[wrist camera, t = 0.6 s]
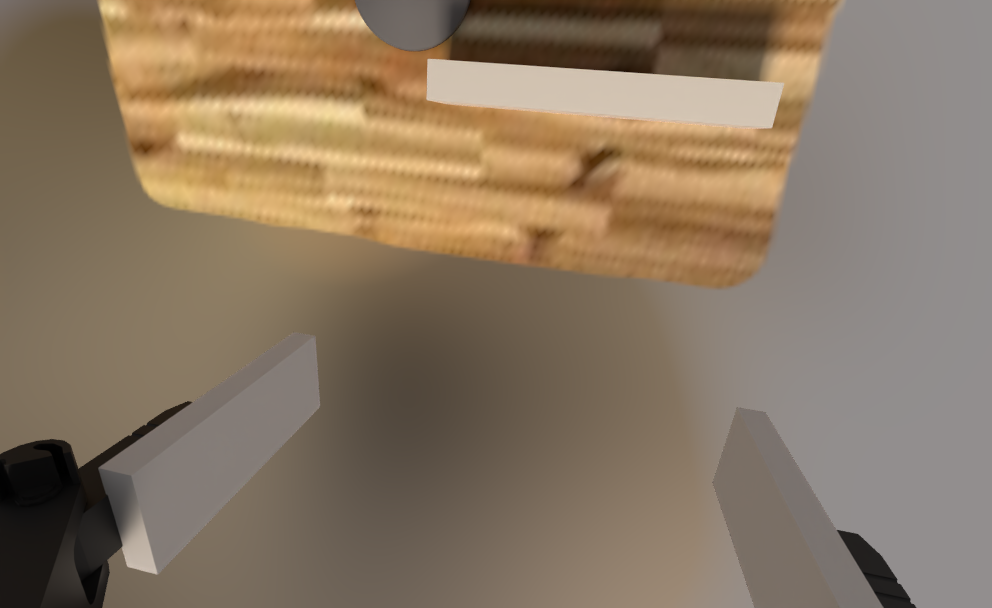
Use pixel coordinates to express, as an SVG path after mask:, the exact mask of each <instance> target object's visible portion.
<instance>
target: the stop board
mask: <svg viewBox="0 0 992 608" xmlns="http://www.w3.org/2000/svg"><path fill="white" fill-rule="evenodd" d="M783 86H784V83H777V82H762V81H748V80H733V79H718V78H703V77H689V76H674V75H659V74H645V73H630V72H615V71H600V70H586V69H571V68H556V67H541V66H527V65H512V64H497V63H483V62H468V61H453V60H438V59H428V69H427V100H429V101H434V102H439V103H444V104H451V105H463V106H475V107H487V108H499V109H511V110H524V111H536V112H548V113H560V114H572V115H584V116H596V117H608V118H621V119H633V120H645V121H657V122H669V123H681V124H693V125H705V126H718V127H730V128H742V129H759V128H772V126H773V122H774V118H775V115H776V111H777V108H778V104H779V100H780V97H781V93H782V89H783Z"/></svg>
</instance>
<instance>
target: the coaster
mask: <svg viewBox="0 0 992 608" xmlns="http://www.w3.org/2000/svg"><path fill="white" fill-rule="evenodd" d="M355 2H356V5H357V8H358V10H359V13H360V14H361V16H362V18H363V20H364V22H365V23H366V24H367V26H368V27H369V28H370V30H371V31H372V32H373V33H374V34H375V35H376V36H378V37H379V38H380V39H381V40H383V41H384V42H386V43H387V44H389V45H392V46H394V47H396V48H399V49H402V50H406V51H423V50H428V49H431V48H434V47H436V46H438V45H440V44H441V43H443V42H444V41H446V40H447V39H448V38H449V37H450V36H451V35H452V34H453V33H454V32H455V31H456V30H457V28H458V27H459V25H460V24H461V22H462V21H463V19H464V17H465V15H466V13H467V10H468V7H469V4H470V0H355Z"/></svg>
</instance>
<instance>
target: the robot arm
mask: <svg viewBox="0 0 992 608" xmlns="http://www.w3.org/2000/svg"><path fill="white" fill-rule="evenodd" d="M319 407H320V399H319V386H318V370H317V357H316V342H315V336H313V335H307V334H301V333H295V332H293V333H292V334H290V335H289V336H288V337H286V338H285V339H284V340H282V341H280V342H279V343H277V344H276V345H275V346H273V347H272V348H270V349H269V350H267V351H266V352H264V353H263V354H262V355H260V356H259V357H257V358H256V359H254V360H253V361H252V362H250V363H249V364H247V365H246V366H244V367H243V368H241V369H240V370H239V371H237V372H236V373H234V374H233V375H231V376H230V377H228V378H227V379H226V380H224V381H223V382H221V383H220V384H218V385H217V386H216V387H214V388H213V389H211V390H210V391H209V392H207V393H206V394H204V395H203V396H201V397H200V398H198V399H197V400H195V401H194V402H189V401H187V402H185V403H183V404H180V405H178V406H175V407H173V408H171V409H168V410H166V411H164V412H163V413H161V414H160V415H158V416H157V417H155V418H154V419H152V420H151V421H149V422H148V423H147V425H146V426H145V425H143V426H142V427H140V428H139V429H137V430H136V431H134V432H133V433H132V435H131V436H127V437H125V438H124V439H122V440H121V441H119V442H118V443H116V444H115V445H113V446H112V447H110V448H109V449H107V450H106V451H104V452H103V453H101V454H100V455H98V456H97V457H95V458H94V459H93V460H91V461H89V462H88V463H86V464H85V465H84V466H82V467H80V468H79V469H78V466H77V463H76V460H75V457H74V454H73V451H72V448H71V445H70V444H68V443H67V442H65V441H63V440H54V439H50V440H42V441H35V442H31V443H27V444H24V445H20V446H17V447H16V448H13V449H11V450H8V451H6V452H3V453H2V454H0V608H102V606H103V601H104V596H105V592H106V587H107V582H108V577H109V573H110V572H109V564H108V561H107V560H108V559H109V558H110V557H111V556H112V555H113V554H114V553H116V552H117V551H118V550H119V549H120V548H121V547H122V550H123V553H124V556H125V560H126V563H127V566H128V567H131V568H135V569H138V570H142V571H146V572H150V573H154V574H159V573H160V572H161V571H162V570H163V569H164V568H165V566H166V565H167V564H168V563H169V562H170V561H171V560H172V559H173V558H174V557H175V556H176V555H177V554H178V553H179V552H180V551H181V550H182V549H183V548H184V547H185V546H186V545H187V544H188V543H189V541H191V540H192V538H194V536H195V535H196V534H197V533H198V532H199V531H200V530H201V529H202V528H203V527H204V526H205V525H206V524H207V523H208V522H209V521H210V520H211V519H212V518H213V517H214V516H215V515H216V514H217V513H218V512H219V511H220V510H221V508H223V506H224V505H225V504H226V503H227V502H228V501H229V500H230V499H231V498H232V497H233V496H234V495H235V494H236V493H237V492H238V491H239V490H240V489H241V488H242V487H243V486H244V485H245V484H246V483H247V482H248V481H249V479H250V478H252V476H253V475H254V474H255V473H256V472H257V471H258V470H259V469H260V468H261V467H262V466H263V465H264V464H265V463H266V462H267V461H268V460H269V459H270V458H271V457H272V456H273V454H275V453H276V451H278V450H279V449H280V448H281V446H282V445H283V444H284V443H285V442H286V441H287V440H288V439H289V438H290V437H291V436H292V435H293V434H294V433H295V432H296V431H297V430H298V429H299V428H300V427H301V426H302V425H303V424H304V423H305V421H306V420H307V419H308V418H310V416H311V415H312V414H313V413H314V412H315V411H316V410H317V409H318V408H319ZM713 486H714V489H715V492H716V495H717V498H718V501H719V503H720V506H721V510H722V512H723V515H724V518H725V521H726V524H727V527H728V530H729V533H730V536H731V539H732V542H733V545H734V548H735V551H736V554H737V557H738V560H739V563H740V566H741V569H742V572H743V575H744V578H745V581H746V584H747V587H748V590H749V593H750V596H751V598H752V602H753V605H754V608H916V607H915V605H914V604H911V602H910V598H909V596H908V595H907V593H906V592H905V590H904V589H903V587H902V586H901V585H900V584H898V583H897V578H896V577H895V575H894V574H893V572H892V571H891V569H890V568H889V566H888V565H887V563H886V562H885V560H884V559H883V558H882V556H881V555H880V554H879V553H878V552H877V551H876V550H875V549H873V548H872V547H871V546H870V545H869V544H868V543H867V542H866V541H865V540H864V539H863V538H862V537H861V536H859V535H858V534H855V533H850V532H845V531H840V530H836V528H835V527H834V525H833V523H832V522H831V520H830V518H829V517H828V515H827V513H826V512H825V510H824V509H823V507H822V505H821V503H820V502H819V500H818V499H817V497H816V495H815V494H814V492H813V490H812V489H811V487H810V485H809V484H808V482H807V480H806V479H805V477H804V475H803V474H802V472H801V470H800V469H799V467H798V465H797V464H796V462H795V460H794V459H793V457H792V455H791V454H790V452H789V450H788V449H787V447H786V446H785V444H784V442H783V441H782V439H781V437H780V436H779V434H778V432H777V431H776V429H775V427H774V426H773V424H772V422H771V421H770V419H769V417H768V416H767V414H766V412H761V411H755V410H750V409H744V408H738V407H737V410H736V412H735V415H734V418H733V421H732V424H731V427H730V431H729V434H728V437H727V439H726V443H725V446H724V449H723V452H722V455H721V458H720V461H719V464H718V467H717V470H716V473H715V476H714V479H713Z"/></svg>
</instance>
